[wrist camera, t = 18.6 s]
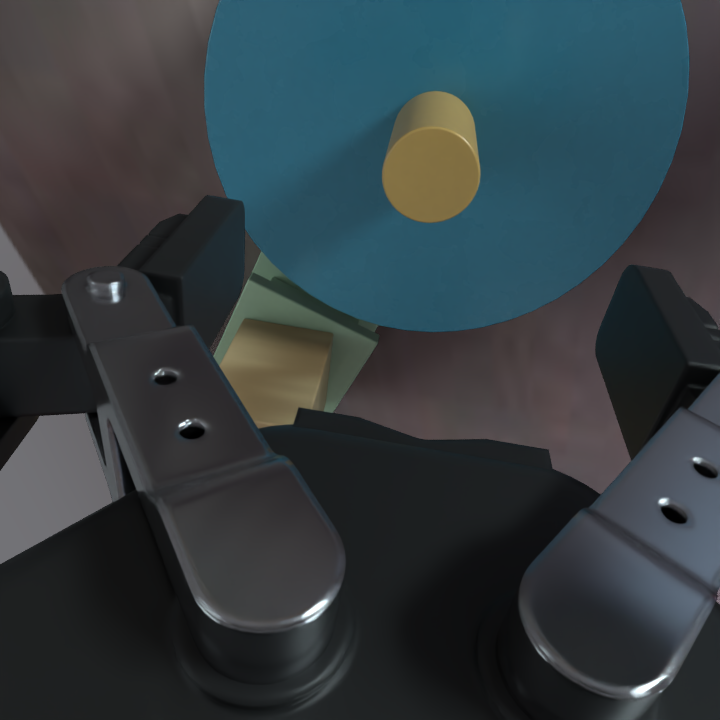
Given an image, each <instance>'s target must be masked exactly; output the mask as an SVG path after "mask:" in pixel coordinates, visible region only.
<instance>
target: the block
mask: <svg viewBox="0 0 720 720" xmlns="http://www.w3.org/2000/svg"><path fill="white" fill-rule="evenodd" d="M333 336H334V335H333V333H330V332H324V331H318V330H312V329H306V328H300V327H294V326H288V325H282V324H276V323H270V322H264V321H258V320H252V319H246V318H245V319H243V321H242V323H241V325H240V327H239V329H238V331H237V333H236V335H235V336H234V338H233V340H232V342H231V344H230V346H229V348H228V350H227V352H226V354H225V356H224V358H223V359H222V361H221V363H220V365H219V366H220V368H221V370H222V371H223V373H224V374H225V376H226V378H227V379H228V381H229V382H230V384H231V386H232V387H233V389H234V390H235V392H236V394H237V395H238V397H239V398H240V400H241V402H242V403H243V405H244V406H245V408H246V410H247V411H248V413H249V414H250V416H251V418H252V419H253V421H254V422H255V424H256V426H257V427H258V428H263V427H268V426H276V425H288V424H293V423H294V420H295V417H296V414H297V410H298V407H300V408H306V409H312V410H318V411H324V408H325V404H326V397H327V389H328V380H329V371H330V362H331V353H332V345H333Z"/></svg>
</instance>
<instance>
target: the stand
mask: <svg viewBox="0 0 720 720" xmlns="http://www.w3.org/2000/svg"><path fill="white" fill-rule="evenodd" d="M245 318H246V319H252V320H258V321H264V322H270V323H276V324H282V325H288V326H294V327H300V328H306V329H312V330H318V331H324V332H330V333H333V335H334V336H333V345H332V353H331V362H330V371H329V380H328V389H327V397H326V404H325V408H324V412H330V413H333V412H334V410H335V409H336V407H337V406H338V404H339V403H340V401H341V399H342V398H343V396H344V395H345V393H346V392H347V390H348V389H349V387H350V386H351V384H352V383H353V381H354V380H355V378H356V376H357V375H358V373H359V372H360V370H361V369H362V367H363V366H364V364H365V363H366V361H367V360H368V358H369V357H370V355H371V354H372V352H373V350H374V349H375V347H376V346H377V344H378V340H379V335H378V334H377V333H375V330H376V329H377V327H378V325H377V324H373V323H370V322H367V321H364V320H360V319H357V318H355V317H352V316H350V315H348V314H345V313H343V312H341V311H338V310H336V309H334V308H332V307H330V306H329V305H327V304H325V303H323V302H322V301H320V300H318V299H316V298H315V297H313V296H311V295H310V294H308V293H307V292H306V291H304V290H303V289H302V288H300V287H299V286H298V285H296V284H295V283H293V282H292V281H291V280H290V279H289V278H288V277H286V276H285V275H284V274H283V273H282V272H281V271H280V270H279V269H278V268H277V267H276V266H275V265H273V264H272V263H271V262H270V260H269V259H268V258H267V257H266V256H265V255H264V253H263V252H262V251H261V253H260V255H259V258H258V260H257V262H256V264H255V267H254V269H253V271H252V273H251V275H250V277H249V279H248V281H247V283H246V285H245V287H244V289H243V292H242V294H241V296H240V298H239V301H238V303H237V305H236V307H235V309H234V312H233V314H232V316H231V318H230V321H229V323H228V325H227V327H226V329H225V332H224V334H223V336H222V338H221V341H220V343H219V345H218V347H217V349H216V352H215V354H214V356H213V357H214V358H215V360H216V362H217V363H218V365H220V363H221V361H222V359H223V358H224V356H225V354H226V352H227V350H228V348H229V346H230V344H231V342H232V340H233V338H234V336H235V335H236V333H237V331H238V329H239V327H240V325H241V323H242V321H243V319H245Z"/></svg>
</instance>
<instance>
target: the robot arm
mask: <svg viewBox="0 0 720 720" xmlns="http://www.w3.org/2000/svg"><path fill="white" fill-rule="evenodd" d="M244 260H245V208H244V204H243V202H242V201H241V200H235V199H228V198H222V197H216V196H210V195H206V196H205V197H204V198H203V199H202V200H201V201H200V202H199V204H198V205H197V206H196V207H195V208H194V209H193V210H192V211H191V212H190V214H189V215H184V214H177V215H175V216H173V217H170V218H168V219H165V220H163V221H161V222H159V223H158V224H157V225H156V226H155V227H154V228H153V229H152V230H151V231H150V233H149V235H147V236H146V237H145V238H144V239H143V240H142V241H141V242H140V245H137V246H136V247H135V248H134V249H133V250H132V251H131V252H130V253H129V254H128V255H127V256H126V257H125V258H124V259H123V260H122V261H121V262H120V263H119V264H118V265H117V266H102V267H94V268H89V269H86V270H82V271H80V272H77V273H75V274H73V275H71V276H70V277H69V278H67V279H66V280H65V281H64V283H63V285H62V288H61V290H62V294H54V295H12V292H11V288H10V284H9V280H8V277H7V276H6V274H4V273H3V272H2V271H0V470H1V469H2V468H3V466H4V465H5V463H6V462H7V461H8V459H9V458H10V457H11V455H12V454H13V453H14V451H15V450H16V448H17V447H18V446H19V444H20V443H21V442H22V440H23V439H24V437H25V436H26V435H27V433H28V432H29V431H30V429H31V428H32V426H33V425H34V424H35V422H36V421H37V419H38V417H39V416H43V415H59V414H60V415H61V414H79V413H85V417H86V421H87V424H88V427H89V430H90V433H91V436H92V439H93V442H94V445H95V448H96V451H97V454H98V457H99V460H100V463H101V466H102V469H103V472H104V475H105V478H106V480H107V484H108V487H109V490H110V494H111V498H112V503H111V504H109V505H107V506H105V507H103V508H102V509H100V510H98V511H96V512H94V513H93V514H91V515H89V516H87V517H85V518H83V519H82V520H80V521H78V522H76V523H74V524H72V525H71V526H69V527H67V528H65V529H63V530H62V531H60V532H58V533H57V534H54V535H53V536H51V537H49V538H47V539H45V540H44V541H42V542H40V543H38V544H36V545H34V546H33V547H31V548H29V549H27V550H25V551H24V552H22V553H20V554H18V555H16V556H15V557H13V558H11V559H9V560H7V561H6V562H4V563H2V564H0V720H720V604H718V603H717V602H716V600H717V592H718V590H719V588H720V330H718V326H717V324H716V323H715V321H714V320H713V318H712V317H711V315H710V314H709V312H707V311H706V310H705V309H704V308H702V307H701V306H700V305H698V304H697V303H696V302H695V301H693V300H692V299H691V298H689V297H686V296H685V294H684V293H683V291H682V290H681V288H680V286H679V285H678V283H677V282H676V280H675V279H674V277H673V275H672V274H671V272H670V271H668V270H663V269H657V268H651V267H645V266H638V265H629V266H628V267H627V268H626V269H625V270H624V272H623V274H622V276H621V278H620V280H619V283H618V285H617V287H616V290H615V292H614V295H613V297H612V299H611V302H610V304H609V307H608V309H607V311H606V314H605V316H604V319H603V321H602V324H601V326H600V328H599V331H598V335H597V339H596V349H595V350H596V358H597V361H598V364H599V367H600V370H601V373H602V376H603V379H604V382H605V385H606V388H607V391H608V393H609V396H610V399H611V402H612V405H613V408H614V411H615V414H616V417H617V420H618V423H619V426H620V429H621V432H622V435H623V438H624V441H625V444H626V447H627V449H628V452H629V455H630V458H631V462H630V463H629V464H628V465H627V466H626V467H625V469H624V470H623V471H622V472H621V473H620V474H619V475H618V476H617V477H616V479H615V480H614V481H613V482H612V483H611V484H610V485H609V486H608V487H607V489H606V490H605V491H604V492H603V493H602V494H599V493H598V492H596V491H595V490H593V489H592V488H590V487H589V486H587V485H585V484H583V483H582V482H580V481H578V480H576V479H574V478H572V477H570V476H568V475H566V474H563V473H561V472H559V471H556V470H554V469H552V464H551V459H550V454H549V450H547V449H541V448H535V447H530V446H524V445H518V444H512V443H506V442H500V441H494V440H488V439H465V440H423V439H419V438H415V437H412V436H410V435H407V434H404V433H401V432H398V431H396V430H393V429H390V428H387V427H384V426H382V425H379V424H376V423H373V422H371V421H368V420H365V419H362V418H359V417H353V416H347V415H342V414H336V413H330V412H324V411H318V410H312V409H306V408H300V407H298V410H297V414H296V417H295V420H294V423H293V424H288V425H276V426H268V427H263V428H258V427H257V426H256V424H255V422H254V421H253V419H252V418H251V416H250V414H249V413H248V411H247V410H246V408H245V406H244V405H243V403H242V402H241V400H240V398H239V397H238V395H237V394H236V392H235V390H234V389H233V387H232V386H231V384H230V382H229V381H228V379H227V378H226V376H225V374H224V373H223V371H222V370H221V368H220V366H219V365H218V363H217V362H216V360H215V358H214V357H213V355H212V354H211V352H210V350H209V349H210V347H211V345H212V343H213V342H214V340H215V338H216V336H217V334H218V333H219V331H220V329H221V327H222V326H223V324H224V322H225V320H226V319H227V317H228V315H229V313H230V312H231V310H232V308H233V306H234V304H235V303H236V301H237V299H238V297H239V295H240V292H241V289H242V285H243V279H244Z"/></svg>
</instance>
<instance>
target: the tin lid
mask: <svg viewBox="0 0 720 720" xmlns="http://www.w3.org/2000/svg"><path fill="white" fill-rule="evenodd" d="M689 62H690V58H689V47H688V37H687V26H686V20H685V16H684V12H683V8H682V3H681V0H220V1H219V3H218V6H217V8H216V12H215V16H214V20H213V24H212V28H211V32H210V36H209V40H208V47H207V55H206V64H205V72H204V109H205V117H206V125H207V133H208V139H209V143H210V147H211V151H212V155H213V159H214V163H215V167H216V170H217V173H218V175H219V178H220V181H221V183H222V186H223V189H224V191H225V194H226V196H227V198H228V199H235V200H241V201H242V202H243V204H244V208H245V230H246V231H247V233H248V234H249V236H250V237H251V239H252V240H253V241H254V243H255V244H256V245H257V246H258V248H259V249H260V250H261V251H262V252H263V253H264V255H265V256H266V257H267V258H268V259H269V260H270V262H271V263H272V264H273V265H275V266H276V267H277V268H278V269H279V270H280V271H281V272H282V273H283V274H284V275H285V276H286V277H288V278H289V279H290V280H291V281H292V282H293V283H295V284H296V285H298V286H299V287H300V288H302V289H303V290H304V291H306V292H307V293H308V294H310V295H311V296H313V297H315V298H316V299H318V300H320V301H322V302H323V303H325V304H327V305H329V306H330V307H332V308H334V309H336V310H338V311H341V312H343V313H345V314H348V315H350V316H352V317H355V318H357V319H360V320H364V321H367V322H370V323H373V324H377V325H380V326H385V327H390V328H396V329H401V330H408V331H421V332H450V331H461V330H468V329H475V328H482V327H486V326H490V325H493V324H497V323H501V322H505V321H508V320H511V319H514V318H516V317H519V316H521V315H524V314H527V313H529V312H532V311H534V310H536V309H538V308H540V307H542V306H544V305H546V304H548V303H550V302H552V301H554V300H556V299H557V298H559V297H560V296H562V295H563V294H565V293H567V292H568V291H570V290H571V289H573V288H574V287H576V286H577V285H579V284H580V283H581V282H583V281H584V280H585V279H586V278H587V277H589V276H590V275H591V274H592V273H594V272H595V271H596V270H597V269H598V268H600V267H601V266H602V265H603V264H604V263H605V262H606V261H607V260H608V259H609V258H610V257H611V256H612V255H613V254H614V253H615V252H616V251H617V250H618V249H619V247H620V246H621V245H622V244H623V243H624V242H625V241H626V239H627V238H628V237H629V236H630V234H631V233H632V232H633V230H634V229H635V228H636V226H637V225H638V224H639V222H640V221H641V220H642V219H643V217H644V215H645V213H646V212H647V210H648V208H649V207H650V205H651V203H652V202H653V200H654V198H655V197H656V195H657V193H658V192H659V190H660V187H661V185H662V183H663V181H664V178H665V176H666V174H667V172H668V169H669V167H670V165H671V163H672V160H673V157H674V154H675V151H676V147H677V144H678V141H679V137H680V134H681V131H682V127H683V121H684V115H685V110H686V104H687V98H688V86H689Z"/></svg>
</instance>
